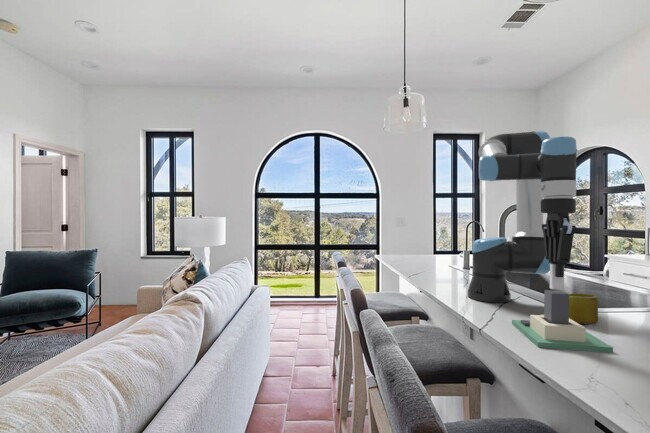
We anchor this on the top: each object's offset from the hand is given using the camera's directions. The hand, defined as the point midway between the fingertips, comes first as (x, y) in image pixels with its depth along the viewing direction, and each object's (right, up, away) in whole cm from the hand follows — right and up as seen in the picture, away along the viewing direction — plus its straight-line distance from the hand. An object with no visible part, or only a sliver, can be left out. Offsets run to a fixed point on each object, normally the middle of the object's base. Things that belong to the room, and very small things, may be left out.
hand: (556, 288), depth 88 cm
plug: (0, -12, 0) cm, 12 cm away
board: (+1, -13, +2) cm, 13 cm away
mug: (+17, -13, +17) cm, 28 cm away
